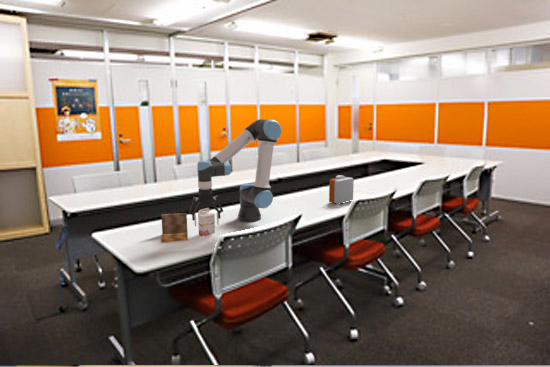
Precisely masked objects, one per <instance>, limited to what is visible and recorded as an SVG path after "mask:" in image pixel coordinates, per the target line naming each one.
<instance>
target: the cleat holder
mask: <svg viewBox="0 0 550 367" xmlns="http://www.w3.org/2000/svg"><path fill="white" fill-rule="evenodd" d="M161 230H162V231H161V232H162V233H161V234H160V240H161V242H160V243H171V242H183V241H189V240H188V239H189V237H188V216H187V212H181V213H165V214H161Z"/></svg>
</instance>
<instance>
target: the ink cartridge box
mask: <svg viewBox="0 0 550 367" xmlns="http://www.w3.org/2000/svg"><path fill="white" fill-rule="evenodd" d="M197 212H198V215H197V220H198V221H197V222H198V224H197V225H198V235H199V236H201V237H202V236H203V237H207V236H209V235H213V234H215V233H216V226H215V225H216V223H215V222H216V221H215V219H216V218H215V217H216V216H215V213H213V212H210V207H205V208H201V209H198V210H197Z"/></svg>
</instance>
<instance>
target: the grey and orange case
mask: <svg viewBox="0 0 550 367" xmlns="http://www.w3.org/2000/svg"><path fill="white" fill-rule="evenodd" d="M354 182H355V181H354V177H349V176H345V175H342V174H341V175H339V174H338V175H336V176H335V178H330V180H329V186H328V187H329V189H328V192H329V193H328V195H329V197H328V198H329V199H328V202H329V203H330V202H332V203H336V204H339V203H343V202H346V201H350V200H353V201H354ZM332 203H331V204H332ZM336 204H335V205H336ZM339 205H340V204H339Z"/></svg>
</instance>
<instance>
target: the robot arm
mask: <svg viewBox="0 0 550 367" xmlns="http://www.w3.org/2000/svg"><path fill="white" fill-rule="evenodd" d="M281 136H282V127H281V125H280V123H279V121H277V120H275V119H262V118H259V119H256V120H255V121H253V122H252V123H250V124H248V126H246V127H245V128H244V129H243V130H242V133H241V134H239V135H238V136H237V137H236V138H234V139H232V141H231V142H230V143H229V144H227V145H226V146H225V147H224V148H222V149H221V150H220V151H218V152H217V153H216V155H214V156H213V157H211V158H210V159H206V160H199V161H198V162H197V165H196V166H197V169H196V170H197V180H198V182H197V185H198V186H197V188H198V197H195V196H194V197H193V200H192V203H191V206H190V208H189V210H188V214H189V215H191V217H192V218H191V219H192V221H194V227H197V217H196V216H197V214H196V213H197V212H198V210H200V208H201V206H202V205H210V206H211V207H213V209H215V211H216V224H217V225H218V226H219V221H220V219H221V213H223V212H224V210H223V207H222V205H221V203H220V201H219V197H218V195H215V196H213V188H212V187H213V184H212V181H213V180H212V178H215V177H225V176H226V177H227V176H229V175H231V173H232V166H231V164H230V162H229V161H230V160H231V159H232V158H234V157H235V156H236V155H237V154H238V153H239V152H241V150H242V149H244V148H245V147H246V146H248V145H249V144H250V143H254V142H256V140H257V142H258V143H259V147H258V155H257V164H256V172H255V180H254V183H253V182H252V183H244V184H241V185H240V186H239V203H240V205H239V206H240V207H239V211H238V214H237V220H239V221H240V222H241V221H242V222H247V223H248V222H257V221H259V220H261V219H262V213H261V211H260V209H267V208H268V207H270V206H271V205H272V203H273V201H274V195H273V194H272V192H271V191H272V190H271V188H272V187H271V185H270V179H271V178H270V176H271V169H272V162H273V161H272V160H273V152H274V147H275V145H277V142H278V141H277V140H278V139H279V138H280V137H281ZM213 200H214V201H216V203H217V206H218V207H217V206H216V205H215V204H214V202H213ZM197 201H199V202H198V203H197V205H196V207H195V208H194V206H195V204H196V202H197Z"/></svg>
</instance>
